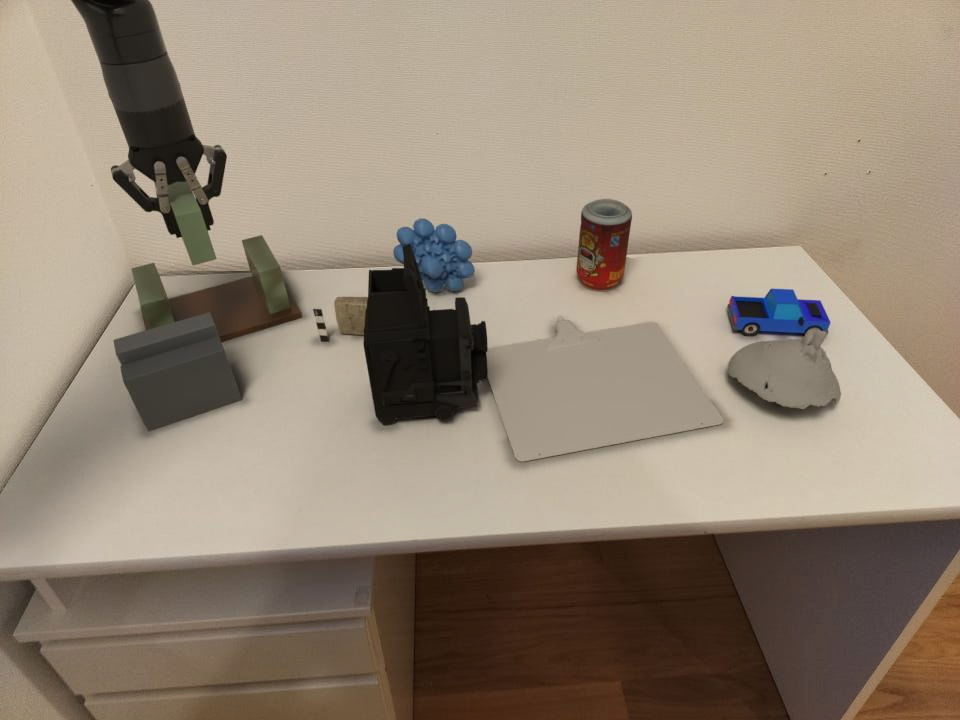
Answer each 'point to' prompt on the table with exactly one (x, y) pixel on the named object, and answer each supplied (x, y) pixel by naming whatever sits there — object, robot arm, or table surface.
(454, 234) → the grapes
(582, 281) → the soda can
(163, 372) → the grey grooved block
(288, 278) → the table surface
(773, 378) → the grey clay mound
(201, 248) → the green book
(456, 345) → the camera
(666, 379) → the grey rectangular panel
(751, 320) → the toy car
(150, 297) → the book rack
